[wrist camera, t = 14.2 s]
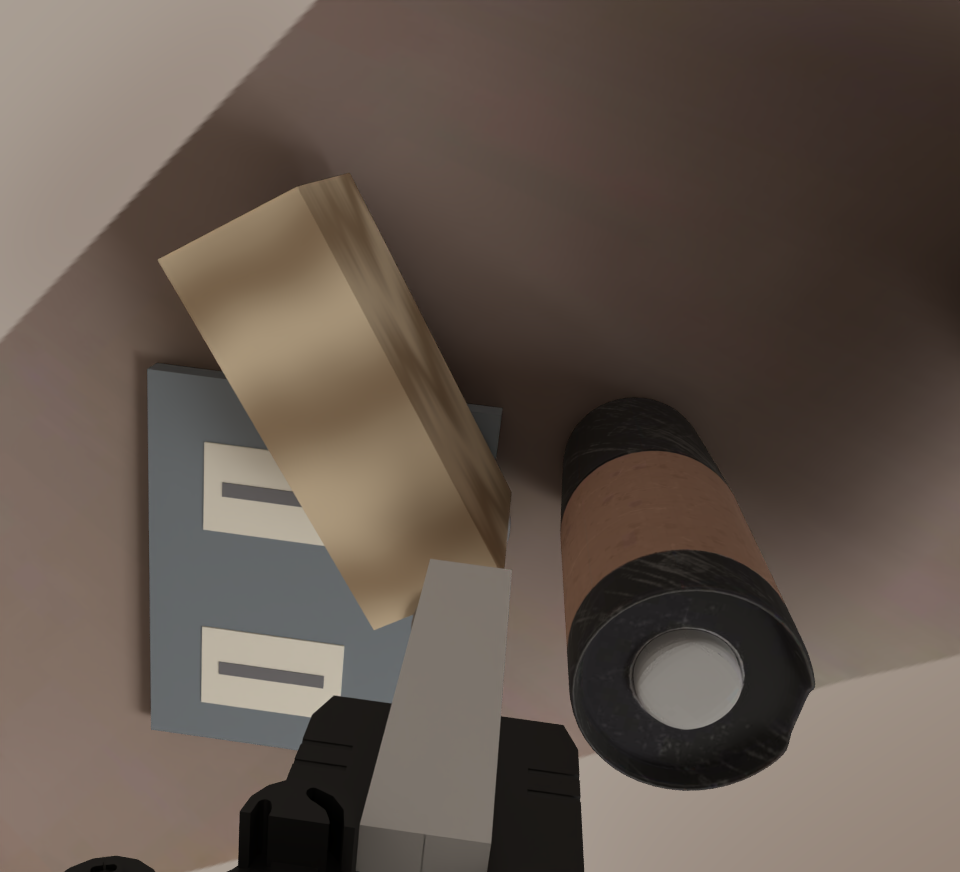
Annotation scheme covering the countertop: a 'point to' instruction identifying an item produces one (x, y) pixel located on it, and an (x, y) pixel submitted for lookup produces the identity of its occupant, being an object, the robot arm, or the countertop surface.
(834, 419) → the countertop surface
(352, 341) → the tan wooden block
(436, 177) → the countertop surface
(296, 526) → the label board
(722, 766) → the travel mug
